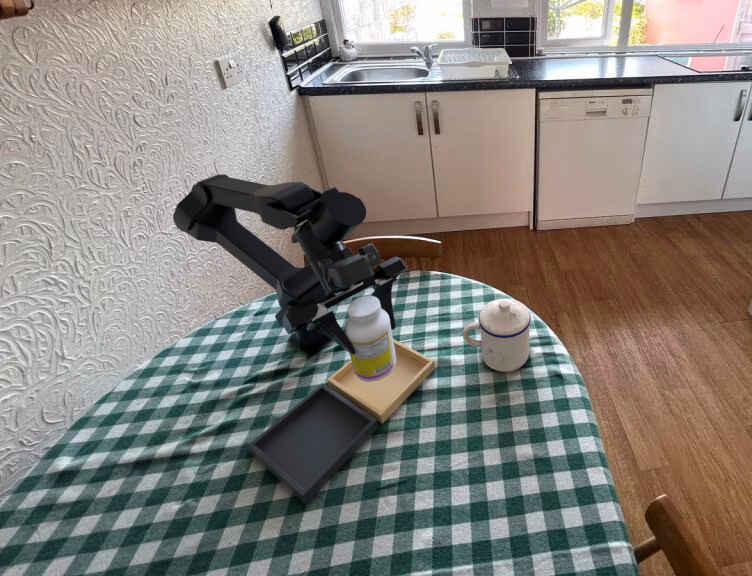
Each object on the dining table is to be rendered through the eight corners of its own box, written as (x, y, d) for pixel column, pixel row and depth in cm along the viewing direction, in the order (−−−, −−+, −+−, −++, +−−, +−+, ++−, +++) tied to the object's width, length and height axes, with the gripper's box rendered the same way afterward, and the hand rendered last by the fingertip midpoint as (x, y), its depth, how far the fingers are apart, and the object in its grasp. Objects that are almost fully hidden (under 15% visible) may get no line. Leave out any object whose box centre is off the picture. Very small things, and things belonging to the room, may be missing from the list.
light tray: (329, 387, 69) (326, 379, 68) (384, 340, 79) (382, 333, 78) (382, 424, 63) (380, 415, 62) (435, 368, 73) (434, 360, 72)
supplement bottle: (363, 349, 70) (351, 290, 65) (401, 351, 70) (392, 291, 65) (347, 383, 64) (332, 320, 59) (389, 385, 64) (378, 322, 59)
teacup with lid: (528, 334, 80) (528, 285, 75) (532, 372, 72) (533, 321, 67) (465, 336, 79) (462, 288, 74) (463, 376, 71) (459, 324, 66)
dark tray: (251, 453, 59) (247, 445, 58) (324, 391, 69) (322, 382, 68) (305, 504, 53) (302, 496, 52) (378, 428, 63) (376, 419, 62)
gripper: (269, 264, 53) (325, 372, 51) (394, 213, 66) (443, 299, 64) (262, 286, 62) (310, 380, 60) (374, 237, 74) (417, 314, 72)
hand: (374, 341), depth 64 cm, fingers closed on supplement bottle, 6 cm apart
